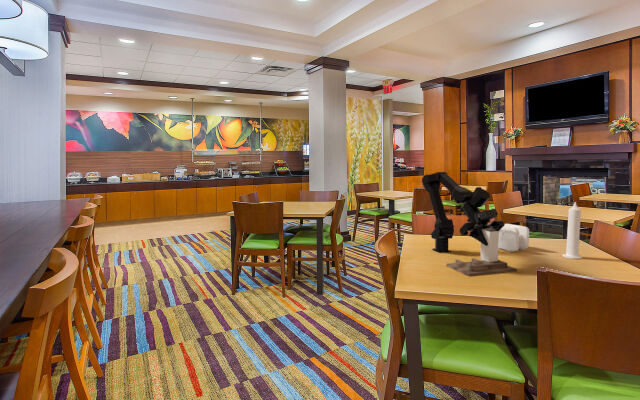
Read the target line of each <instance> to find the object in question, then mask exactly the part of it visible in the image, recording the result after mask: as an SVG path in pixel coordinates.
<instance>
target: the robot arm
mask: <svg viewBox="0 0 640 400" xmlns="http://www.w3.org/2000/svg"><path fill="white" fill-rule="evenodd" d="M421 183H422V185H423V188H424V189H425V190H426V191H427V192H428V194H429V197H430V201H431V205H432V208H433V209H432V210H433V213H434V216H435V217H434V218H435V222H434V229H433V231H432V232H431V233H430V236H431V237H430V238H432V239H434V241H435V243H434V248H432V249H431V250H433V251H435V252H437V253H451V251H452V250H450V249H449V239H453V236H454V233H455V226H454V222H453V219H452V218H449V217H448V216H447V214H446V211H445V207H444V204H443V199H442V197H441V192H440V188H441V186H444V188H445V189H446V190H447V191H448V192H449V193H451V198H452V199H453V201H454V202H455V203H456V204H463V205H461V206H460V209H459V212H460V213H464V214H465V215H466V217H467V219H466V221H467V222H464V223H463V225H462V226H461V227H460V228H459V233H460V235H461V236H469V237H472V238H473V239H475V240H476V241H478V242H480V244H481V243H482V244H484V245H485V246H487V245H488V243H487V240H486V239H485V237H484V235H483V233H482V230H486V228H493V229H495V231H499V230H500V229H501V228H502V227H503V226H504V225H505V224H506V223H505V222H504V221H503V220H492V219H495V218H497V217H498V215H499V213H498V211H497V209H496V208H491V209H486V210H480V208H482V207H484V205H485V204H486V203H487V201H488V200H490V198H491V194H490V192H489V191H487V190H485V189H483V188H482V187H481V186H477V187H475V189H474V190H473V191H472V190H470V189H469V188H466V187H463V186H461V185H459V183H457V182H456V181H455V180H454V179H453V178H452V177H451V176H449V174H448V173H447V172H446V171H437V172H435V173H430V174H424V175H423V177H422V178H421ZM491 220H492V222H491ZM490 222H491V223H490Z"/></svg>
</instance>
